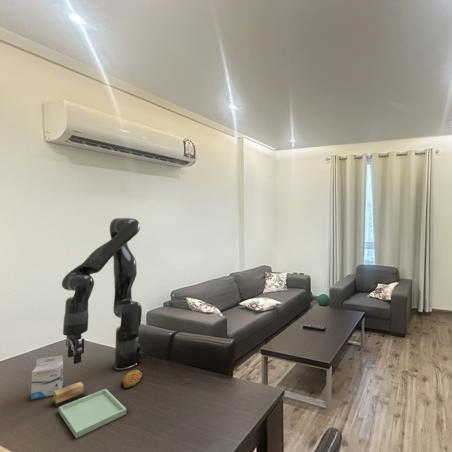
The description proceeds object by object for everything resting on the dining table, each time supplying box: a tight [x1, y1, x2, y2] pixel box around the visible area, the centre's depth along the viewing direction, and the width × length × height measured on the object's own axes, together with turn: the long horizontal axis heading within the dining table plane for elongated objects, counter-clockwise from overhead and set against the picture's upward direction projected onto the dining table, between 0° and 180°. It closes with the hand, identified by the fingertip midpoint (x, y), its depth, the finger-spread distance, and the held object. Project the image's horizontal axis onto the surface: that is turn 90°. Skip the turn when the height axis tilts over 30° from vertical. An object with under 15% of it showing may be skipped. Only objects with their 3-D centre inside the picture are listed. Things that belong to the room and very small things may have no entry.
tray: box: [58, 388, 127, 439], centre depth 103 cm, size 14×21×2 cm
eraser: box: [53, 381, 85, 408], centre depth 110 cm, size 8×4×5 cm, turn 147°
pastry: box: [122, 369, 143, 389], centre depth 122 cm, size 9×7×4 cm
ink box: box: [30, 354, 64, 401], centre depth 113 cm, size 8×5×15 cm, turn 123°
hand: (74, 359), depth 113 cm, fingers open, 8 cm apart
